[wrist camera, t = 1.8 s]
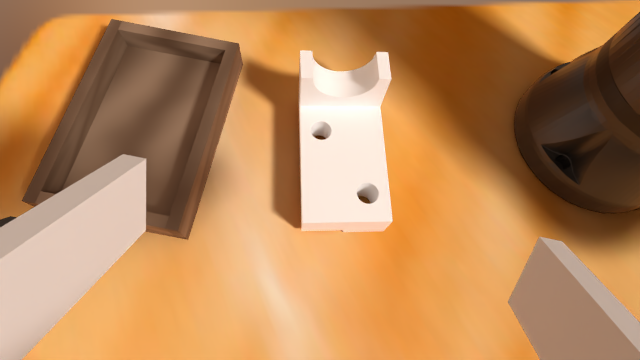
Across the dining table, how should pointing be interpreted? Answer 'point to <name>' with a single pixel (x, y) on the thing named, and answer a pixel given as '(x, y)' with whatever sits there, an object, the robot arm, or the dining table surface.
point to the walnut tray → (146, 118)
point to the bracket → (343, 146)
